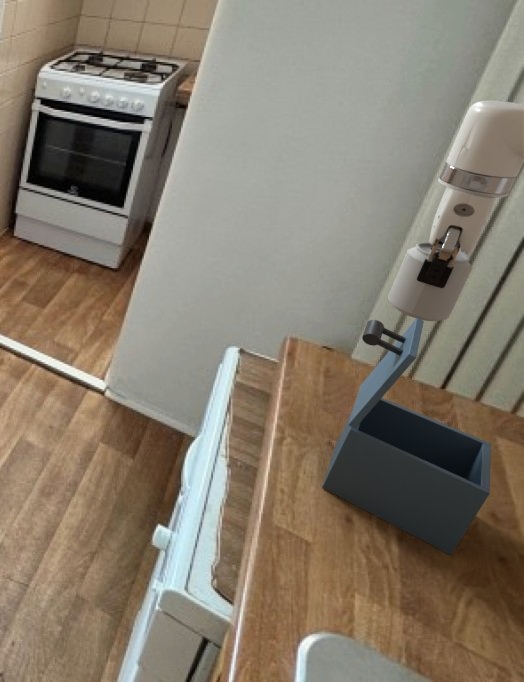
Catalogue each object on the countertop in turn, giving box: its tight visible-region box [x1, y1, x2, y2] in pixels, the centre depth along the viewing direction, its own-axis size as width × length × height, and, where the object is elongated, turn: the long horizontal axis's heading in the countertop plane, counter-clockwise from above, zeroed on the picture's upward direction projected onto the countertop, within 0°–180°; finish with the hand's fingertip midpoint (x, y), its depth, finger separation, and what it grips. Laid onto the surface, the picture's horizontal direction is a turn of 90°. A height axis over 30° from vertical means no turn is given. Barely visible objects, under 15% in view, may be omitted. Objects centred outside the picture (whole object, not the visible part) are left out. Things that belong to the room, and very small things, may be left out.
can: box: [387, 241, 473, 322], centre depth 101 cm, size 8×8×12 cm
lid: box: [348, 318, 425, 428], centre depth 88 cm, size 14×12×5 cm
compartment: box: [321, 397, 492, 556], centre depth 88 cm, size 14×12×12 cm
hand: (432, 274), depth 100 cm, fingers closed on can, 7 cm apart
